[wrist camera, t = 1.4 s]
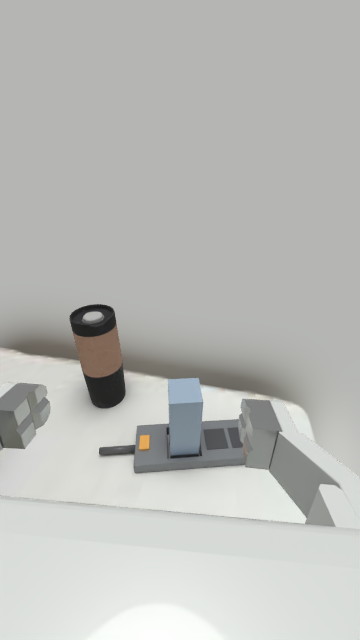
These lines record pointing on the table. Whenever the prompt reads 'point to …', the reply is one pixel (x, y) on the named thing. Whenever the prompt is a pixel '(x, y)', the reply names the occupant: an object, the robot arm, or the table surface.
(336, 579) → the robot arm
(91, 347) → the travel mug
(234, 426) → the power strip
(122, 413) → the table surface
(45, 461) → the table surface
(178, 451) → the blue rectangular block
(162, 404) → the table surface
